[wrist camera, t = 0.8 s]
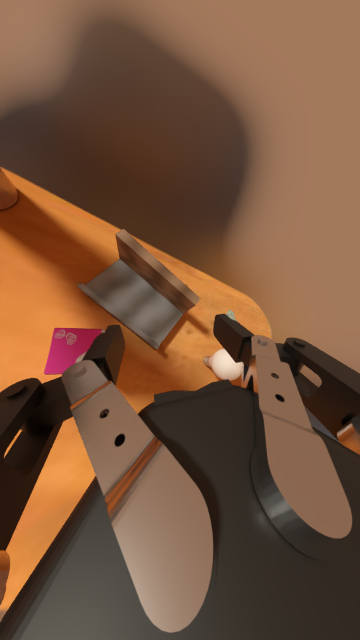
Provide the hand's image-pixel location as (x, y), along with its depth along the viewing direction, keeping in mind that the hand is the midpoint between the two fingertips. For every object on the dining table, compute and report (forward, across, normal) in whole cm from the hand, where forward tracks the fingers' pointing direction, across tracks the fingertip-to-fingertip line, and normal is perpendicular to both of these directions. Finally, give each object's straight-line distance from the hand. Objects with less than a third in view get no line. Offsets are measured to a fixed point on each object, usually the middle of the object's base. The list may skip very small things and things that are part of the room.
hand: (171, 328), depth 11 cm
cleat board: (+22, +5, +6) cm, 23 cm away
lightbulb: (+14, -11, +20) cm, 27 cm away
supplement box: (+15, +13, +12) cm, 23 cm away
